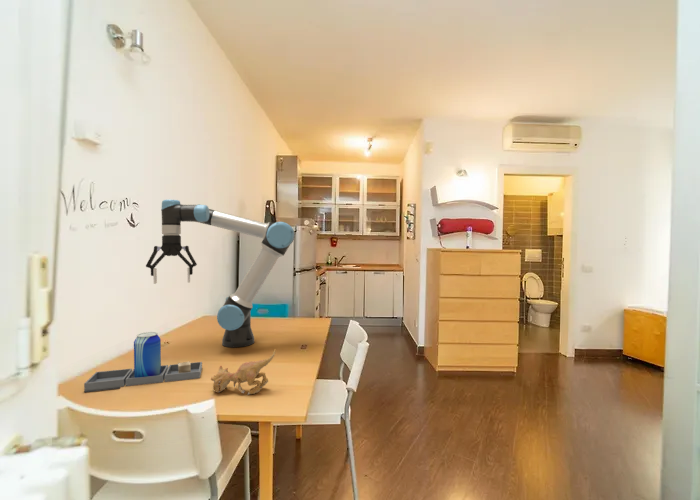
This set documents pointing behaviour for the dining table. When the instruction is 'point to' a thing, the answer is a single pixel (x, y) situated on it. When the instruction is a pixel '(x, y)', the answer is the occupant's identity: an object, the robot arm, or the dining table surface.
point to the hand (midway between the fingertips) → (172, 282)
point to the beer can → (147, 355)
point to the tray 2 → (175, 376)
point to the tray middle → (146, 378)
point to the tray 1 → (107, 380)
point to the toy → (242, 376)
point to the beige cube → (184, 367)
